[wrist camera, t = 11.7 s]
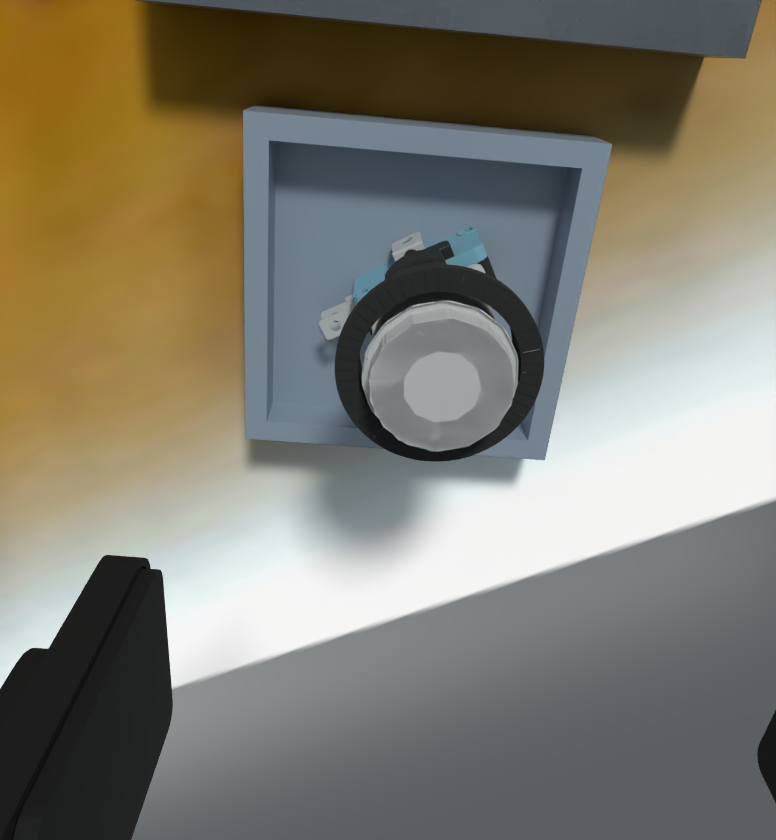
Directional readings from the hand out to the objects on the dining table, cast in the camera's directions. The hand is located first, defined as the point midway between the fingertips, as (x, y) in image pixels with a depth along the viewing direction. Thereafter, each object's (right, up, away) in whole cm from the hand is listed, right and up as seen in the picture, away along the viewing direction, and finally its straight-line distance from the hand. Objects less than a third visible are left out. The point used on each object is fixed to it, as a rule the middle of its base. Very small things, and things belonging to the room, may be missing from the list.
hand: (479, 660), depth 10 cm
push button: (-1, +9, +16) cm, 18 cm away
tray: (-1, +9, +17) cm, 19 cm away
